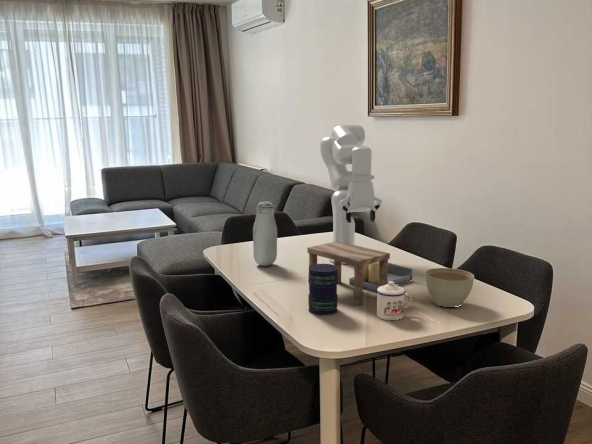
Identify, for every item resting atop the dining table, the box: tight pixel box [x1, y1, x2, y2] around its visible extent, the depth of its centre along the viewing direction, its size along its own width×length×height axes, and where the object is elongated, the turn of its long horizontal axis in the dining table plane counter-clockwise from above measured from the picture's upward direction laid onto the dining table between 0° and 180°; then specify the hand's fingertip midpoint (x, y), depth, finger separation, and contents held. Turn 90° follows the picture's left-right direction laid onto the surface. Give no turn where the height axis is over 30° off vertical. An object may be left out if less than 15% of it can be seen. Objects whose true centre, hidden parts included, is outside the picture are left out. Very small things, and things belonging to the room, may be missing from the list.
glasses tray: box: [348, 262, 413, 293], centre depth 220 cm, size 22×13×10 cm, turn 131°
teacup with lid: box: [376, 281, 413, 321], centre depth 184 cm, size 12×9×12 cm
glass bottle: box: [252, 200, 278, 267], centre depth 244 cm, size 10×10×28 cm
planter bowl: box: [425, 267, 475, 308], centre depth 195 cm, size 16×16×11 cm
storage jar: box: [307, 263, 339, 317], centre depth 189 cm, size 10×10×15 cm
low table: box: [306, 241, 391, 307], centre depth 208 cm, size 16×26×16 cm, turn 41°
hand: (360, 221), depth 225 cm, fingers open, 9 cm apart
